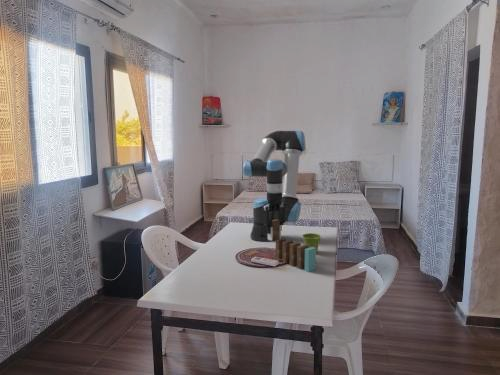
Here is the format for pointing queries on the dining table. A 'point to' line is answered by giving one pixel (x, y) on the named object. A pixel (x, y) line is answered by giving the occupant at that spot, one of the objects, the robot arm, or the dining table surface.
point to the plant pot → (311, 240)
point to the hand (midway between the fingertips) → (274, 238)
